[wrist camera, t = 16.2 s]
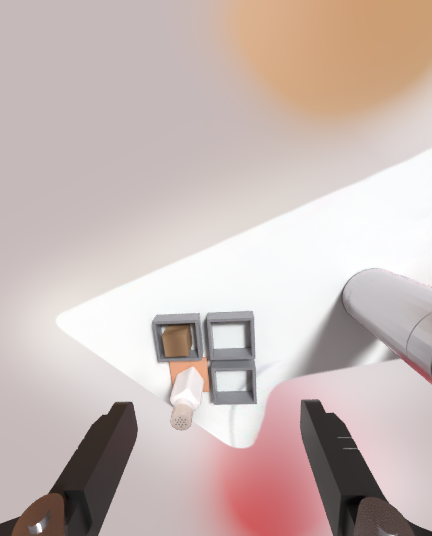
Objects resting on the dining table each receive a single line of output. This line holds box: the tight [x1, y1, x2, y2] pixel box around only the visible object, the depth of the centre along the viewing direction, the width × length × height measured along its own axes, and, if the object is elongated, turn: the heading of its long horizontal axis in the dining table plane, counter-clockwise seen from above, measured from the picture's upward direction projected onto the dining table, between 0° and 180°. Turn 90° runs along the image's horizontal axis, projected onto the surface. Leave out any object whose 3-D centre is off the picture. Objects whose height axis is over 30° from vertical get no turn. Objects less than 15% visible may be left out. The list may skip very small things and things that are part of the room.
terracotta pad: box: [169, 357, 210, 392], centre depth 43 cm, size 7×7×1 cm
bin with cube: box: [152, 313, 203, 362], centre depth 40 cm, size 8×8×2 cm
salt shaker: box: [170, 366, 204, 430], centre depth 38 cm, size 4×4×10 cm
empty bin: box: [207, 311, 255, 360], centre depth 40 cm, size 8×8×2 cm
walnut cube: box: [162, 323, 192, 357], centre depth 40 cm, size 4×4×4 cm
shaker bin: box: [211, 359, 257, 405], centre depth 42 cm, size 8×8×2 cm
